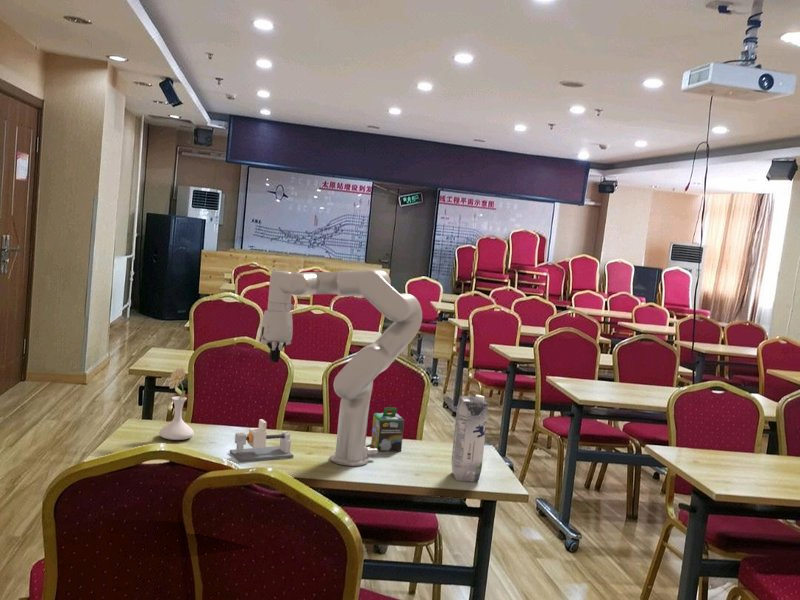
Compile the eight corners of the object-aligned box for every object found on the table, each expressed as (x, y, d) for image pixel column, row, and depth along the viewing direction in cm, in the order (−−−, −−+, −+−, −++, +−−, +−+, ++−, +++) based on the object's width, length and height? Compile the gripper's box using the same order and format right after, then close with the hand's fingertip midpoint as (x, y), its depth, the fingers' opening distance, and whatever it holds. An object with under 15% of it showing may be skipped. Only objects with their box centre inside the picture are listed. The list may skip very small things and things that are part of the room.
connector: (241, 452, 236) (243, 432, 236) (244, 455, 234) (246, 435, 233) (233, 453, 235) (235, 433, 234) (237, 455, 232) (238, 435, 232)
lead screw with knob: (285, 438, 244) (286, 430, 244) (289, 441, 241) (290, 432, 241) (239, 442, 235) (240, 432, 235) (242, 444, 233) (243, 435, 233)
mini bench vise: (281, 448, 247) (283, 428, 247) (293, 457, 239) (295, 436, 238) (229, 452, 238) (231, 431, 237) (240, 462, 229) (241, 440, 229)
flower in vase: (158, 433, 251) (163, 361, 249) (192, 433, 255) (197, 362, 253) (159, 444, 239) (164, 369, 237) (195, 444, 243) (201, 370, 241)
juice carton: (453, 481, 231) (462, 397, 228) (449, 471, 241) (457, 390, 239) (481, 483, 231) (490, 399, 229) (475, 472, 242) (484, 392, 240)
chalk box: (394, 443, 267) (398, 403, 266) (402, 451, 258) (406, 410, 257) (369, 443, 264) (373, 403, 263) (376, 451, 255) (381, 409, 254)
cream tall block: (259, 442, 240) (261, 418, 239) (265, 447, 236) (267, 422, 235) (248, 443, 238) (249, 419, 237) (253, 447, 234) (255, 423, 233)
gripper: (294, 306, 252) (290, 359, 254) (253, 305, 244) (249, 359, 246) (304, 309, 246) (299, 363, 248) (262, 308, 238) (257, 364, 240)
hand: (274, 361), depth 247 cm, fingers closed
